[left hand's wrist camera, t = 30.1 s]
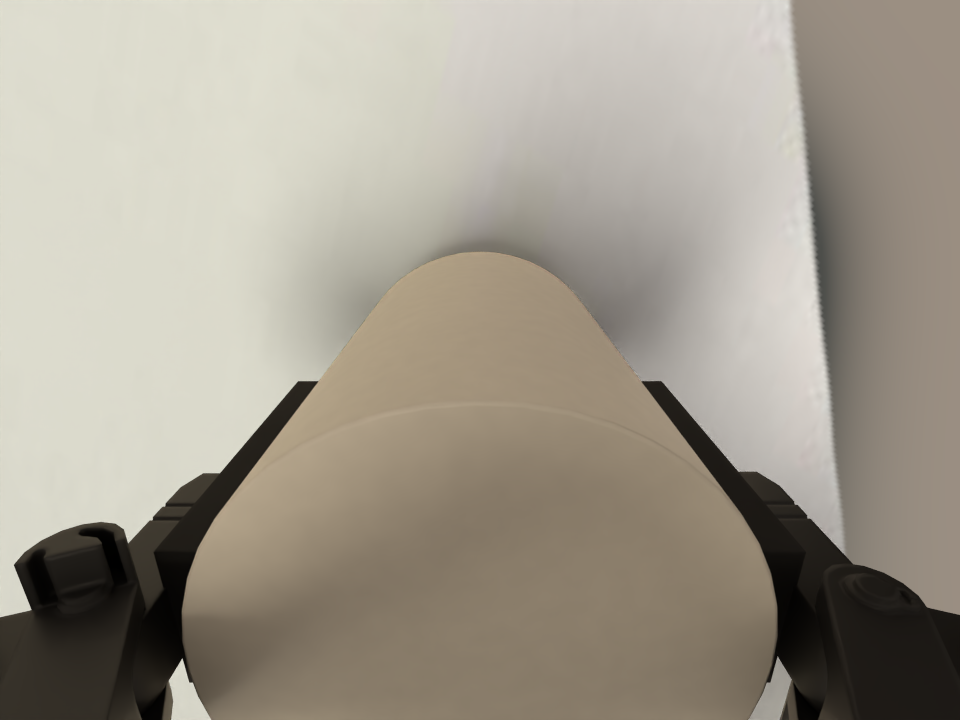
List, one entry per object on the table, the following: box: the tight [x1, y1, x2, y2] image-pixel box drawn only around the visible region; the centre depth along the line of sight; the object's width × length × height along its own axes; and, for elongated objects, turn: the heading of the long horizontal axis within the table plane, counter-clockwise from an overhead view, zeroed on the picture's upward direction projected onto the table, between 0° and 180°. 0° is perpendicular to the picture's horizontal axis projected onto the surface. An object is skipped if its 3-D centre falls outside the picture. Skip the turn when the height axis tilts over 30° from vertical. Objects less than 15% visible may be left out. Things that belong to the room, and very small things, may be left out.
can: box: [182, 252, 777, 720], centre depth 12 cm, size 8×8×11 cm
